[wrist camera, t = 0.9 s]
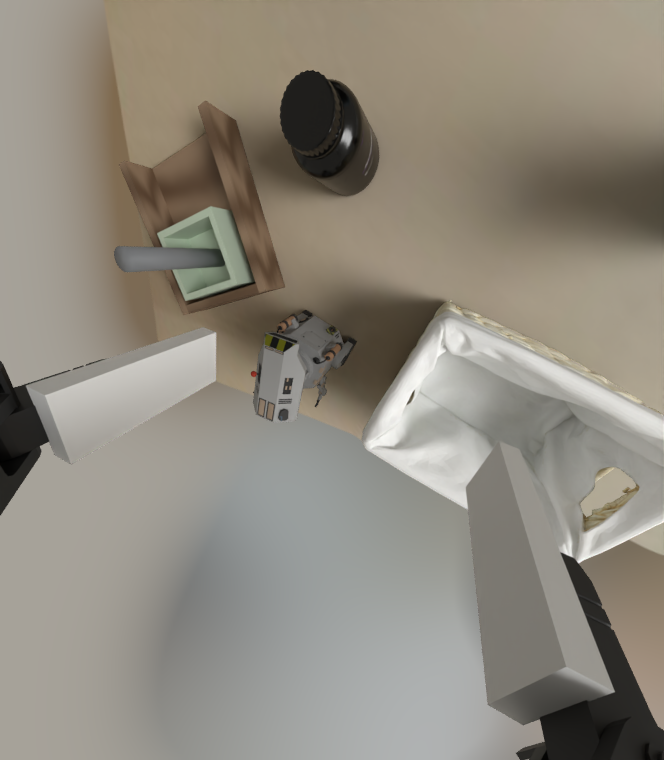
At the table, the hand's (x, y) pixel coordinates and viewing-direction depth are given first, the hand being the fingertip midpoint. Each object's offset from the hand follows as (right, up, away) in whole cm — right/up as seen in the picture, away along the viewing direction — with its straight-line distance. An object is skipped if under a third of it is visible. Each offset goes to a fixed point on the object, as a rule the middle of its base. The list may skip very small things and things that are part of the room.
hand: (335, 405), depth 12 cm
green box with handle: (-16, +19, +28) cm, 37 cm away
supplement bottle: (+2, +26, +19) cm, 32 cm away
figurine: (-2, +6, +30) cm, 30 cm away
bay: (-17, +23, +28) cm, 40 cm away
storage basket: (+21, 0, +24) cm, 31 cm away
